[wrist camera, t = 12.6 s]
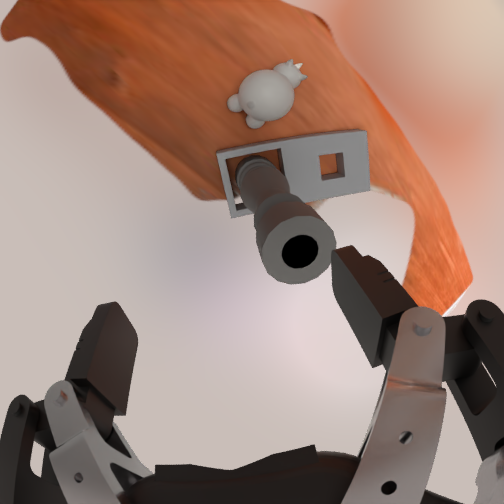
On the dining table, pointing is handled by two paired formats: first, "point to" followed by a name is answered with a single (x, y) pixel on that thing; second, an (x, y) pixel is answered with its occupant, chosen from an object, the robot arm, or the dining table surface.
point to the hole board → (309, 165)
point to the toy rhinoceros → (267, 93)
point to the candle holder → (283, 224)
